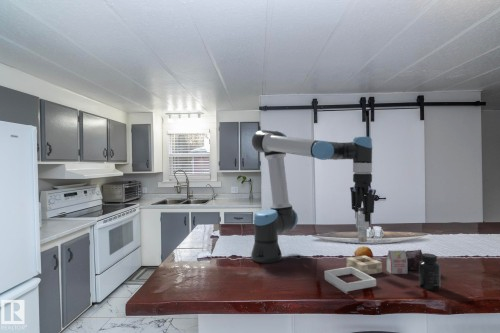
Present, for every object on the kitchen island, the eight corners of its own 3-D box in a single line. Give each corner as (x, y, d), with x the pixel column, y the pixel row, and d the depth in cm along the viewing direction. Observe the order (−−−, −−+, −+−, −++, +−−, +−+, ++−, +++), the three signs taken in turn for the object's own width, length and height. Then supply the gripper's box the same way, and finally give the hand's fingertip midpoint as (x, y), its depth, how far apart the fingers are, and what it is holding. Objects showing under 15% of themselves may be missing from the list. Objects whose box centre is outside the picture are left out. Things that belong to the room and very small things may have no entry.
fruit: (378, 261, 132) (368, 246, 133) (363, 269, 133) (353, 254, 134) (374, 256, 140) (365, 241, 140) (360, 263, 141) (351, 249, 142)
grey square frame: (324, 279, 116) (324, 270, 116) (351, 275, 120) (351, 266, 120) (346, 294, 103) (346, 284, 103) (376, 288, 107) (376, 279, 107)
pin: (356, 240, 125) (356, 207, 125) (362, 239, 126) (363, 207, 126) (361, 242, 122) (361, 209, 121) (368, 241, 123) (368, 208, 122)
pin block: (346, 269, 127) (346, 258, 127) (365, 266, 130) (365, 255, 130) (362, 277, 117) (362, 265, 117) (382, 274, 120) (381, 262, 120)
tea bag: (386, 272, 122) (386, 249, 122) (402, 272, 122) (402, 249, 122) (391, 276, 119) (390, 251, 118) (407, 276, 119) (407, 251, 118)
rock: (394, 269, 130) (406, 277, 120) (391, 250, 130) (402, 256, 120) (421, 264, 129) (434, 272, 119) (417, 245, 130) (430, 252, 120)
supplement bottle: (414, 284, 111) (414, 252, 111) (431, 283, 111) (431, 251, 111) (427, 291, 104) (426, 258, 104) (445, 290, 104) (444, 257, 104)
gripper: (384, 173, 117) (383, 231, 117) (356, 172, 132) (356, 223, 133) (368, 174, 114) (368, 233, 115) (342, 172, 130) (342, 224, 130)
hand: (362, 227), depth 124 cm, fingers closed on pin, 3 cm apart
